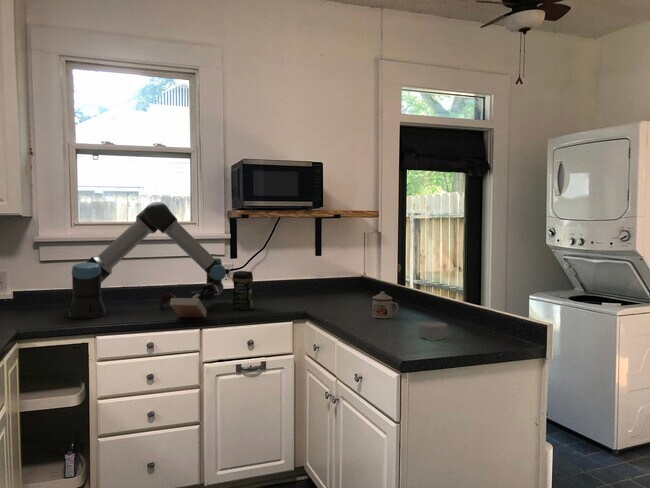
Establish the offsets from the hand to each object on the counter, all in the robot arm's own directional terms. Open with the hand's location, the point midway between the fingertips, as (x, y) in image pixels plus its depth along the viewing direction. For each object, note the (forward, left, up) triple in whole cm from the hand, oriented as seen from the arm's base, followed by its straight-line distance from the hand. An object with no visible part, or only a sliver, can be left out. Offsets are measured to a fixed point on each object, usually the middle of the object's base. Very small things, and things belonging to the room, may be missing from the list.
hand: (194, 299), depth 227 cm
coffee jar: (+17, +21, -8) cm, 28 cm away
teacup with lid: (+85, +4, -8) cm, 86 cm away
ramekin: (+100, -32, -8) cm, 106 cm away
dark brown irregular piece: (-19, +22, -8) cm, 30 cm away
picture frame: (-1, 0, -7) cm, 7 cm away
